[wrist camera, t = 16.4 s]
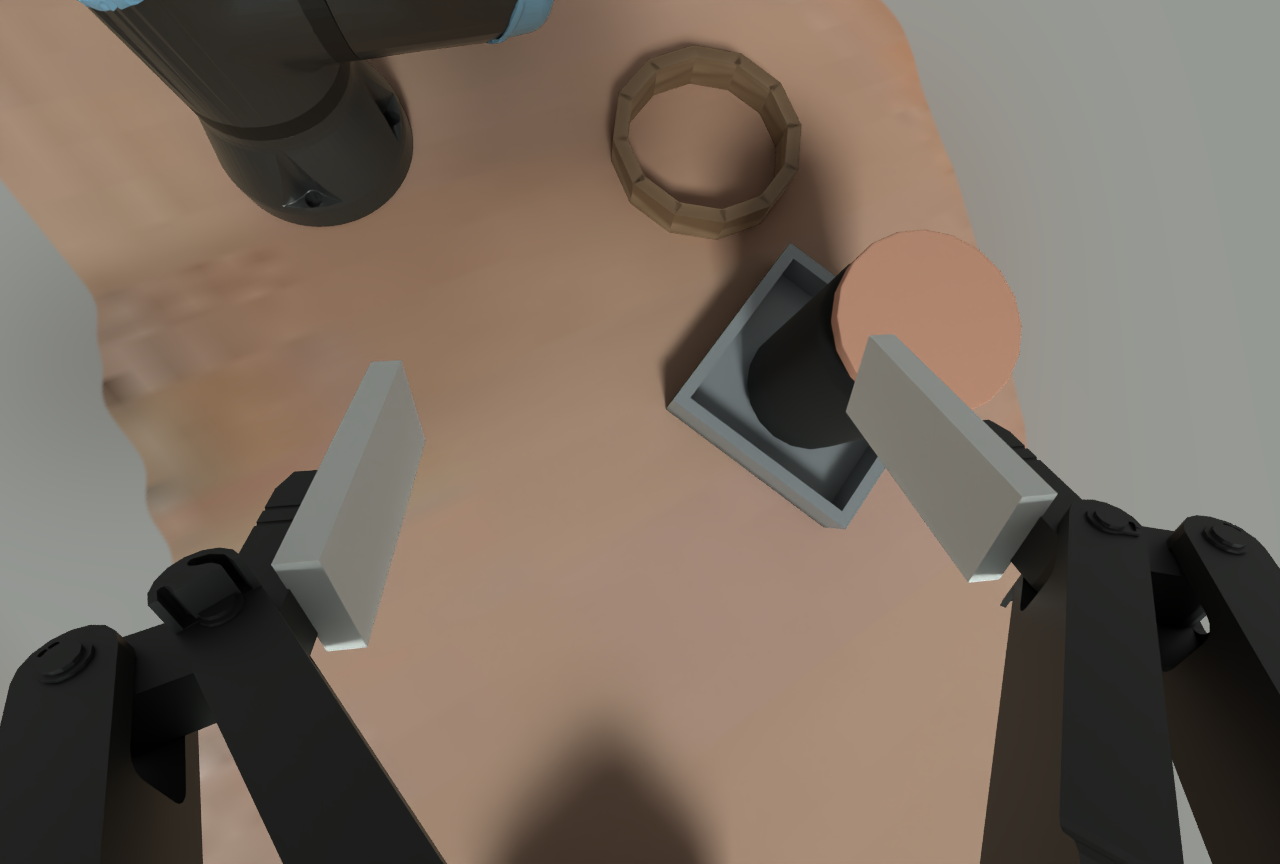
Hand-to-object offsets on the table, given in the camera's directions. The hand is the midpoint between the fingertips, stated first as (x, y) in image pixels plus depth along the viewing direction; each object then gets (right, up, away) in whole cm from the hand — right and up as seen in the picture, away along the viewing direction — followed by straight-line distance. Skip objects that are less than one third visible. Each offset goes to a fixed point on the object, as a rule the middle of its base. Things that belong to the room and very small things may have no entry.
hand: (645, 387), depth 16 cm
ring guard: (+6, +25, +35) cm, 43 cm away
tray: (+14, +2, +33) cm, 35 cm away
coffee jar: (+14, +2, +32) cm, 35 cm away
